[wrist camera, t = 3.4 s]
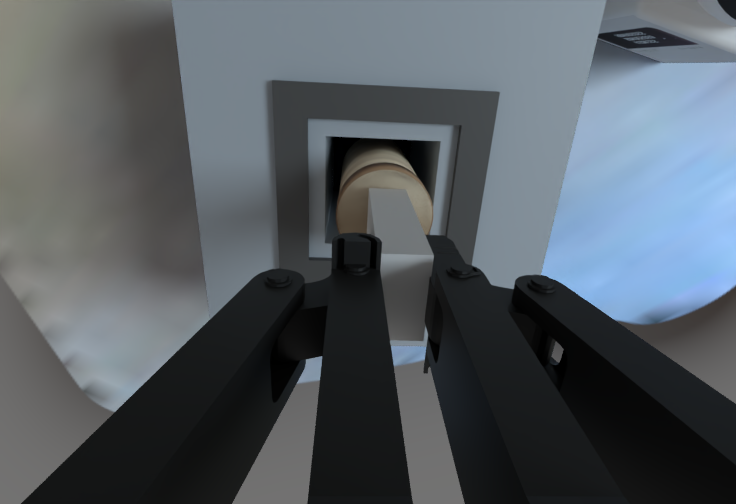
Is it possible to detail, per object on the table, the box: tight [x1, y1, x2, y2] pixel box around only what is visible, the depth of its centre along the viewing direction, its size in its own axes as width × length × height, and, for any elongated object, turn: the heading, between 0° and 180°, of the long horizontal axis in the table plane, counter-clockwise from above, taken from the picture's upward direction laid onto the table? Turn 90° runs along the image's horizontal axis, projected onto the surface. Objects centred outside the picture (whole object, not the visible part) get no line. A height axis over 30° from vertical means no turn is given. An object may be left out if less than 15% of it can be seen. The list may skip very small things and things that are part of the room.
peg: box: [336, 138, 433, 235], centre depth 22 cm, size 4×4×9 cm
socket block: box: [172, 0, 606, 347], centre depth 25 cm, size 18×18×10 cm
